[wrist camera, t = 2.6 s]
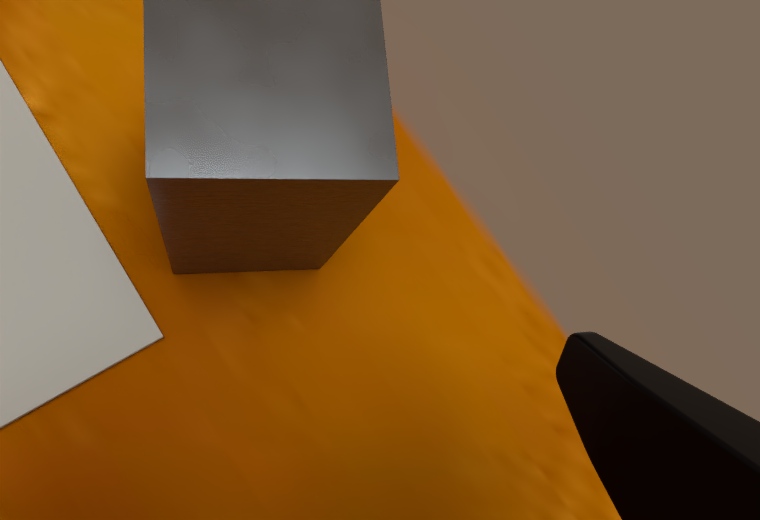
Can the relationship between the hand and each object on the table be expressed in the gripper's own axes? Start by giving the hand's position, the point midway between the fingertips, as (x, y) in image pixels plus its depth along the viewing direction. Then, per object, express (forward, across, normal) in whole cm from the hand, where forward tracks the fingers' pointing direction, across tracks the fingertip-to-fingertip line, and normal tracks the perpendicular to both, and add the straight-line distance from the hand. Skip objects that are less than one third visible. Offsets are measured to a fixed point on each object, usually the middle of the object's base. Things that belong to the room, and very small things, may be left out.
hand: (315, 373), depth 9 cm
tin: (+14, 0, +4) cm, 15 cm away
